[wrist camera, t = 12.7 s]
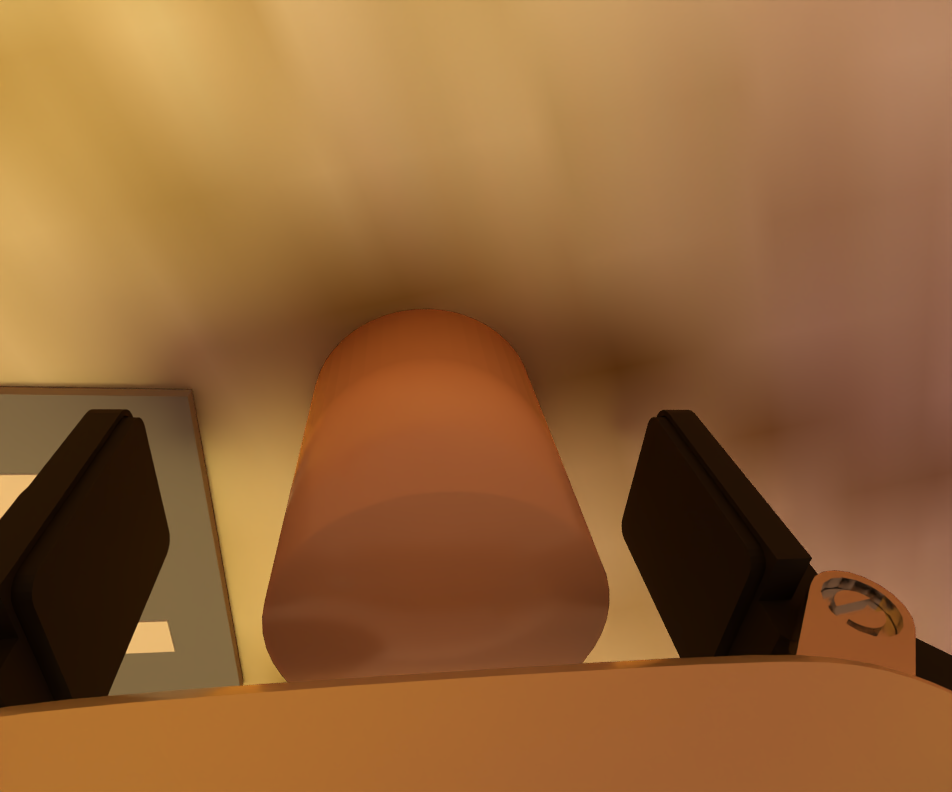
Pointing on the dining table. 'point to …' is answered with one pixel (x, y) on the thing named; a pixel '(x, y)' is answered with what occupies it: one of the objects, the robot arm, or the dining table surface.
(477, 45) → the dining table surface
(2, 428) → the letter tile
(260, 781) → the robot arm
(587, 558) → the terracotta cylinder
